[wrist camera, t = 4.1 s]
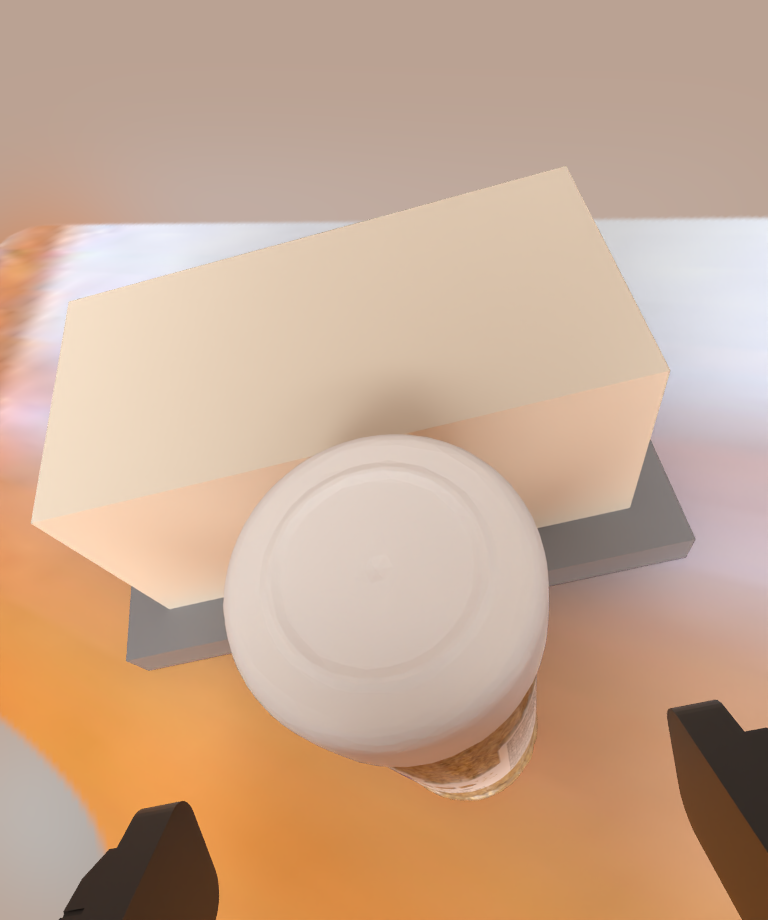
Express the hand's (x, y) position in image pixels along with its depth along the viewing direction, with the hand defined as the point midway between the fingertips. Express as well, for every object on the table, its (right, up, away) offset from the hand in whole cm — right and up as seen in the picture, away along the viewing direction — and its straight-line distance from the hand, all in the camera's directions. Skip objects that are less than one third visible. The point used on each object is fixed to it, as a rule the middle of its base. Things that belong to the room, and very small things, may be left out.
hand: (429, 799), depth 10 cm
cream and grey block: (-1, +5, +14) cm, 15 cm away
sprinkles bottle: (+2, -3, +10) cm, 10 cm away
